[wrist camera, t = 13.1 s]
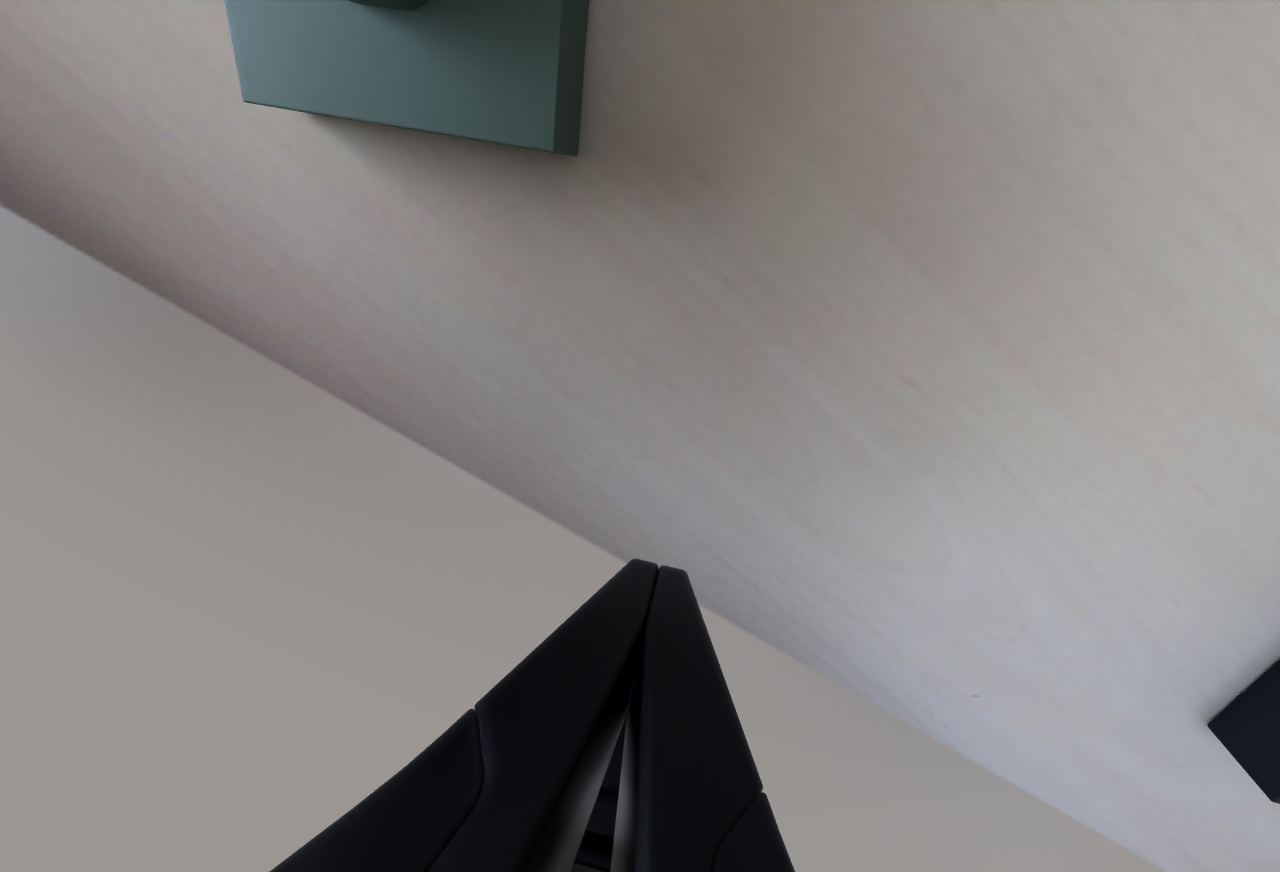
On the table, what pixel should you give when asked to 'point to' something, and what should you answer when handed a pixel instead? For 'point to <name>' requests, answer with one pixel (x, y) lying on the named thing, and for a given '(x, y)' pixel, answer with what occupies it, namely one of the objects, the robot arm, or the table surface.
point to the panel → (1255, 731)
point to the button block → (421, 64)
